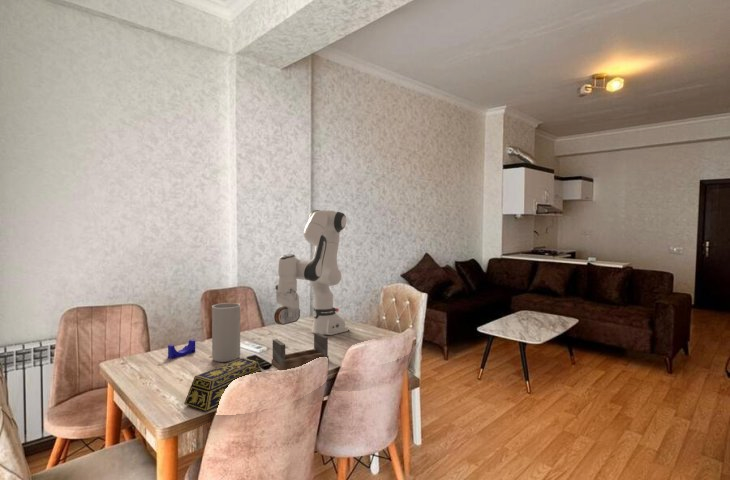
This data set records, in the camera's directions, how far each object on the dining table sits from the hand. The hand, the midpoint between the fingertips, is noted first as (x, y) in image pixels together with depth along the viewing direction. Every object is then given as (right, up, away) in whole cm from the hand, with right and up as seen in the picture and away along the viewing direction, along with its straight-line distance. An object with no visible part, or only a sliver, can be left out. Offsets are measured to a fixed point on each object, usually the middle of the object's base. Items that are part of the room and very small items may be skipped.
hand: (287, 315), depth 191 cm
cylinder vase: (-28, -19, -7) cm, 34 cm away
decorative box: (-14, -21, -44) cm, 50 cm away
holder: (+8, -19, -12) cm, 24 cm away
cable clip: (-51, -19, -3) cm, 55 cm away
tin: (0, -4, 0) cm, 4 cm away
